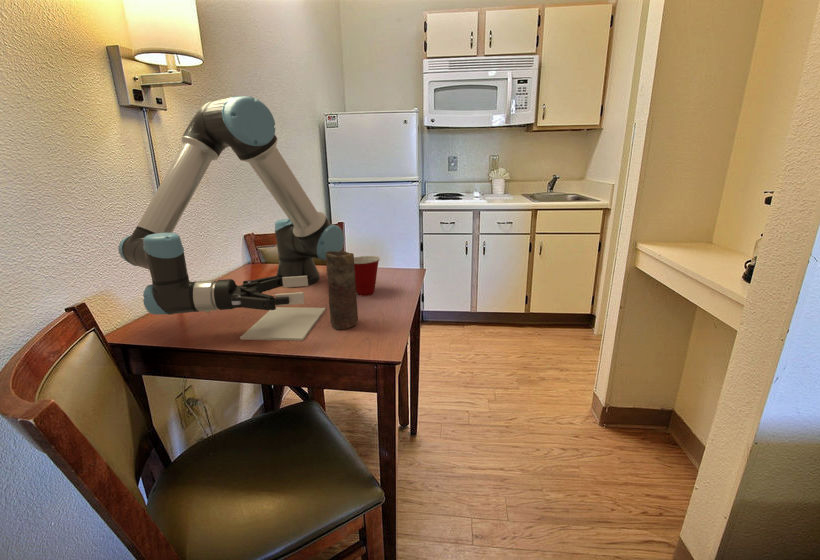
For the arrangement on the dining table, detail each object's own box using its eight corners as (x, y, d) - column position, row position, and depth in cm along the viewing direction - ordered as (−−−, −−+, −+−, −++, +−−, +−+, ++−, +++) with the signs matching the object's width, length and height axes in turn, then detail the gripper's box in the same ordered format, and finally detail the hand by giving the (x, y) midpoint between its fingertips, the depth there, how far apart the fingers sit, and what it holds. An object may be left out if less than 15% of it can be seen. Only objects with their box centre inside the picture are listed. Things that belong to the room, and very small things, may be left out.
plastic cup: (371, 285, 135) (369, 252, 131) (387, 294, 126) (386, 258, 122) (343, 291, 129) (340, 257, 125) (357, 301, 120) (355, 264, 117)
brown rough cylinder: (328, 320, 106) (323, 249, 100) (355, 317, 108) (351, 247, 103) (332, 331, 99) (327, 256, 93) (360, 327, 102) (357, 254, 96)
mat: (273, 309, 115) (273, 307, 115) (325, 309, 114) (325, 307, 114) (240, 339, 96) (240, 337, 96) (303, 340, 95) (302, 338, 95)
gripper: (232, 292, 108) (310, 287, 112) (204, 330, 85) (303, 321, 88) (228, 267, 106) (307, 262, 109) (197, 298, 82) (300, 290, 86)
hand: (306, 288), depth 99 cm, fingers open, 13 cm apart
